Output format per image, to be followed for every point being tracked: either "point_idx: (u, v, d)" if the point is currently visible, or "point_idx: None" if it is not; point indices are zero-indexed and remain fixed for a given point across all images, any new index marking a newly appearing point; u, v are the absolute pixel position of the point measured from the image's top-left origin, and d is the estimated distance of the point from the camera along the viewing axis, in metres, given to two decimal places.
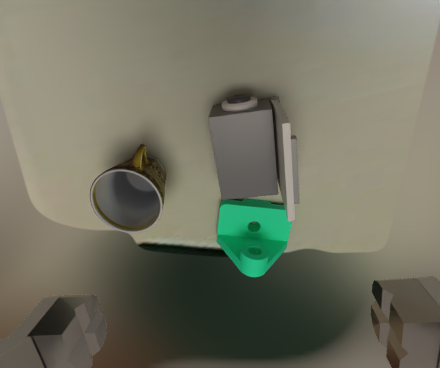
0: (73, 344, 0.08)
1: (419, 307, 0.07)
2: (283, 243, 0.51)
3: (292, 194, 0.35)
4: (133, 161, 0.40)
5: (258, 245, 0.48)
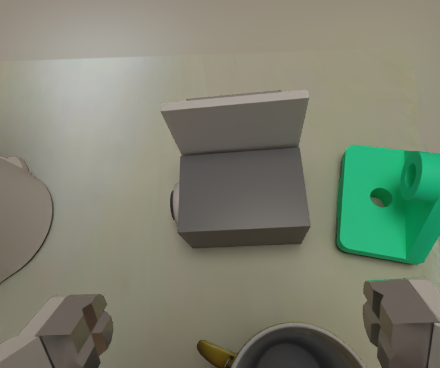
0: (81, 344, 0.08)
1: (408, 308, 0.07)
2: (407, 153, 0.33)
3: (262, 95, 0.25)
4: (216, 364, 0.22)
5: (404, 176, 0.28)
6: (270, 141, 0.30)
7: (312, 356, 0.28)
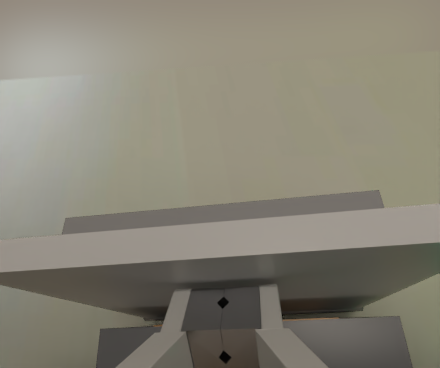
0: None
1: (242, 314, 0.07)
2: None
3: (318, 219, 0.07)
4: None
5: None
6: (321, 293, 0.11)
7: None
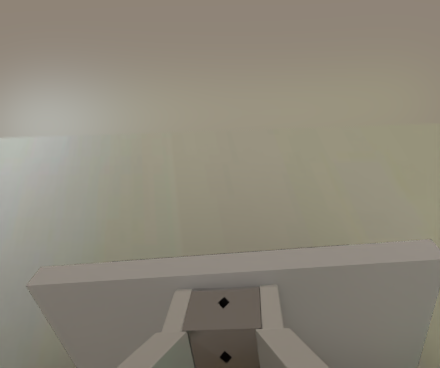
0: None
1: (243, 314, 0.07)
2: None
3: (301, 251, 0.09)
4: None
5: None
6: None
7: None
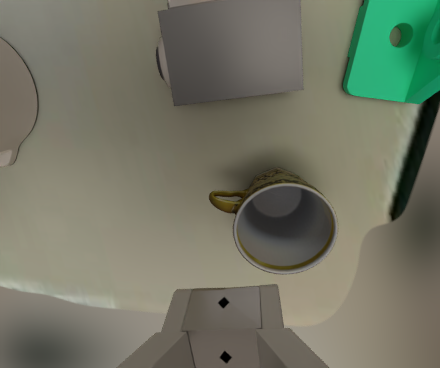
0: None
1: (243, 314, 0.07)
2: None
3: None
4: (225, 210, 0.30)
5: (434, 23, 0.25)
6: None
7: None
